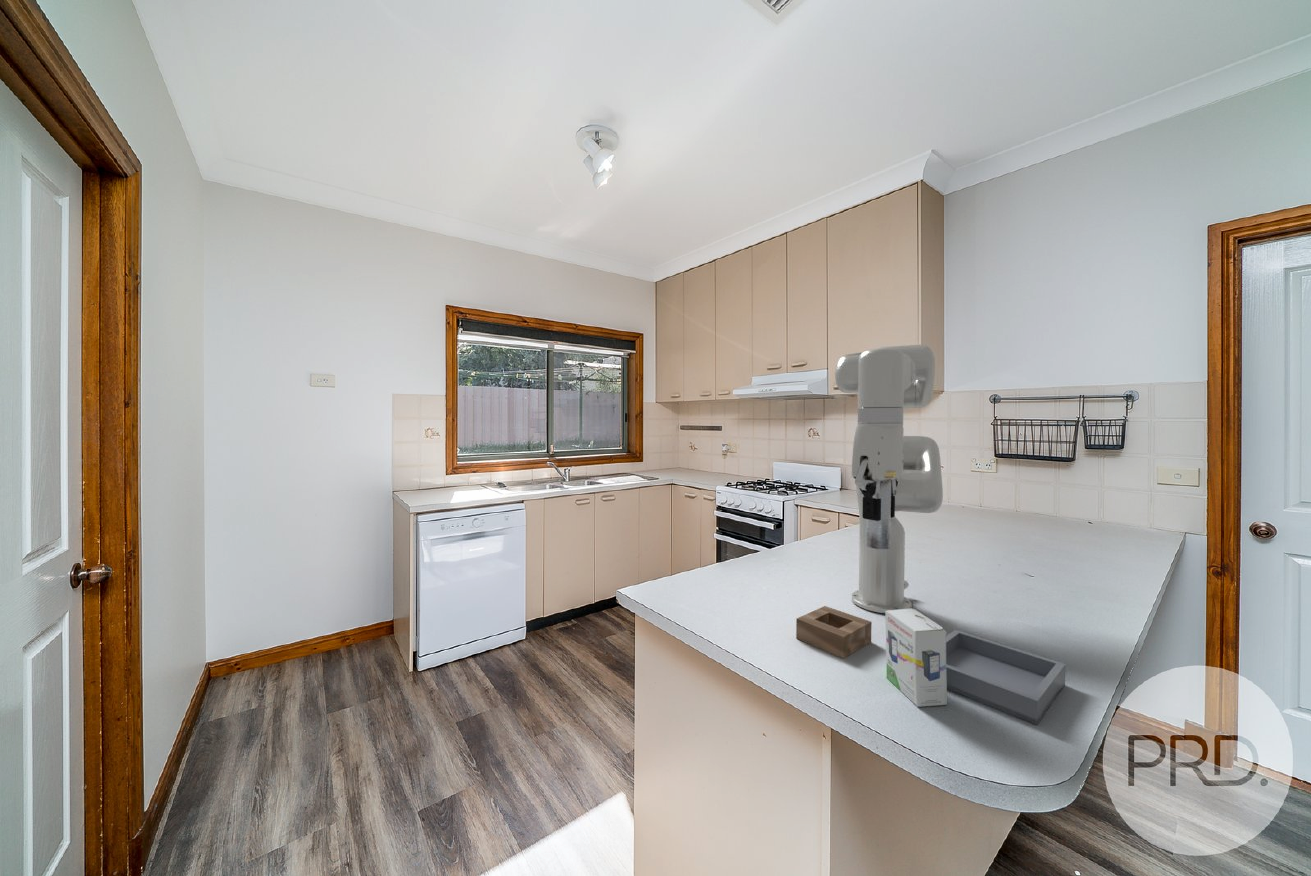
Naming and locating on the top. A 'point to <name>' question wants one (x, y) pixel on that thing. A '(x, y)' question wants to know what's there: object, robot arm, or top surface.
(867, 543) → the steel pin
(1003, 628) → the top surface
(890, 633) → the ink box
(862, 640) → the block
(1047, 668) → the tray
